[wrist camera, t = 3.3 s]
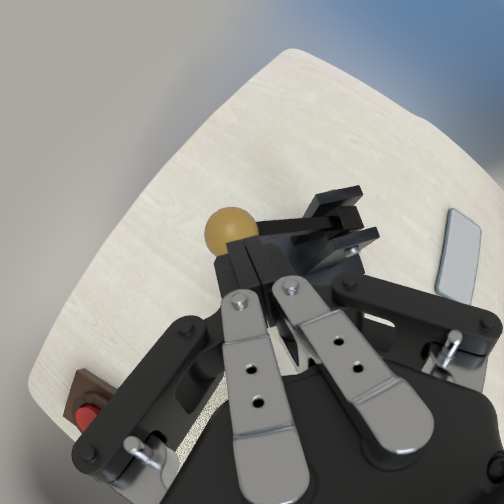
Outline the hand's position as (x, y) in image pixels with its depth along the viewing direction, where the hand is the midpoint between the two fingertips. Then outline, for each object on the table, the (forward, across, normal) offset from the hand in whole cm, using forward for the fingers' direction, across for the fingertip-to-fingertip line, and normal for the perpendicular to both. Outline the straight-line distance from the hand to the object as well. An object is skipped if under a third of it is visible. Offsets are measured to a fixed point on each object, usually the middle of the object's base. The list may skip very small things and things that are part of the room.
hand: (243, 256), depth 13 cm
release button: (+6, +22, +21) cm, 30 cm away
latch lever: (+9, -4, +5) cm, 11 cm away
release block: (+8, +22, +23) cm, 33 cm away
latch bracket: (+18, -10, +14) cm, 24 cm away
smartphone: (+12, -35, +19) cm, 42 cm away
